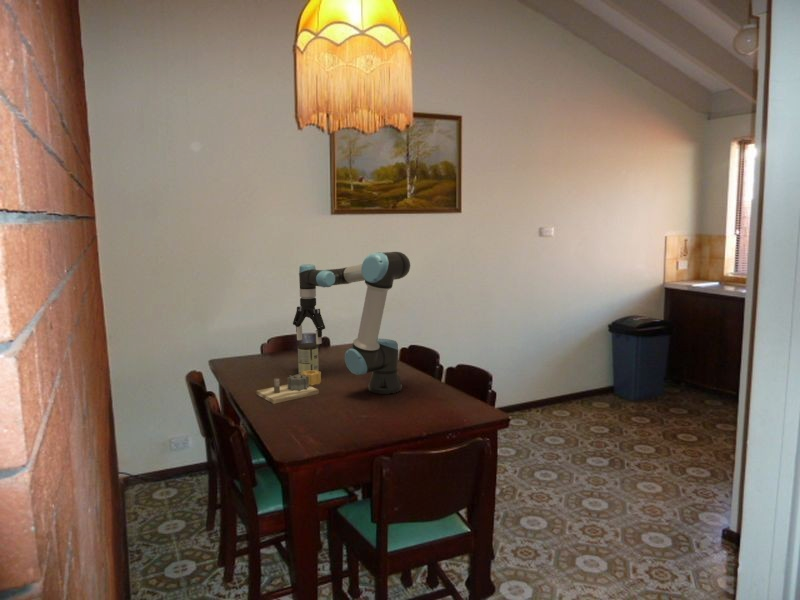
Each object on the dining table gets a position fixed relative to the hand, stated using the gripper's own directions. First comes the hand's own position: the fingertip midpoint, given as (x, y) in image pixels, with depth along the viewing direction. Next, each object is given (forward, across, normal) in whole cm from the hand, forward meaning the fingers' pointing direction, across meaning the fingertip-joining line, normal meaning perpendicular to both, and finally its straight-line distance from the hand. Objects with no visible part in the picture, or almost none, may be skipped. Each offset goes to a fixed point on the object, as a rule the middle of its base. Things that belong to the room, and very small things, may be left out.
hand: (309, 341), depth 275 cm
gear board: (+19, -9, +21) cm, 30 cm away
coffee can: (+19, +10, -8) cm, 23 cm away
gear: (+19, -4, +3) cm, 19 cm away
